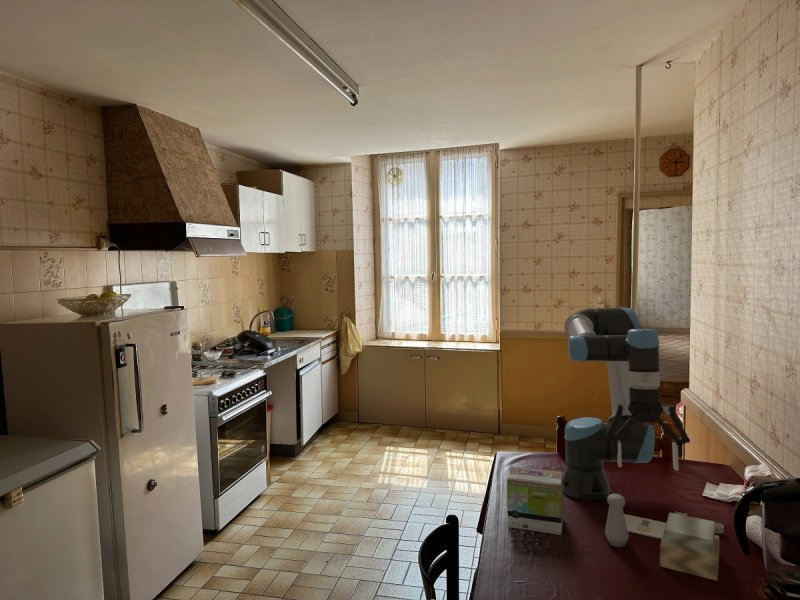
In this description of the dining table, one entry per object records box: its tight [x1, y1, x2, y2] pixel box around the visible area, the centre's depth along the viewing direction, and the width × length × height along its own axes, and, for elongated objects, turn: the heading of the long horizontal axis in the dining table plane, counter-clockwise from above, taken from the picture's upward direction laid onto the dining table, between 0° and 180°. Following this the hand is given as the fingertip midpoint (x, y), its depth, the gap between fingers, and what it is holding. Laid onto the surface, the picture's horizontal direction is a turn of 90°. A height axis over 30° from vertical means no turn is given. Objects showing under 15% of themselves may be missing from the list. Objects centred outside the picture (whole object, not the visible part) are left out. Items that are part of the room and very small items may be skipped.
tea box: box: [506, 466, 564, 536], centre depth 150 cm, size 15×10×15 cm, turn 70°
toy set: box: [674, 511, 725, 535], centre depth 143 cm, size 12×3×4 cm, turn 51°
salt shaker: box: [604, 493, 630, 548], centre depth 138 cm, size 6×6×13 cm
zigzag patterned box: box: [659, 512, 720, 581], centre depth 128 cm, size 12×12×9 cm
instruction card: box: [624, 513, 667, 540], centre depth 145 cm, size 12×9×1 cm
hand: (647, 467), depth 137 cm, fingers open, 13 cm apart
